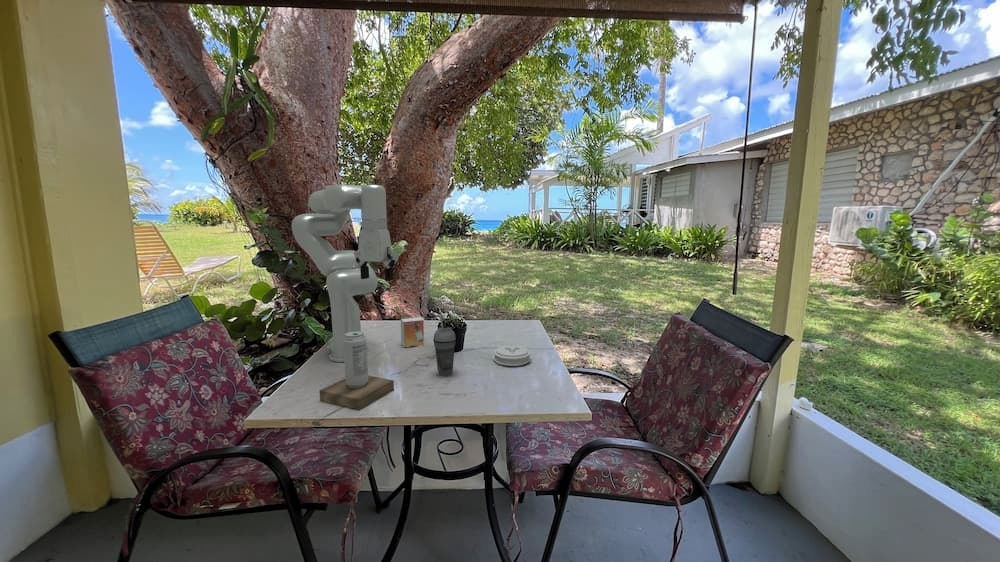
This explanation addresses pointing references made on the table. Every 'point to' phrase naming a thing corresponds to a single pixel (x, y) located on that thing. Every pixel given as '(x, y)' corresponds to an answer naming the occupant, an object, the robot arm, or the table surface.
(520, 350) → the lid
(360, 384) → the energy drink can
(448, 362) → the beverage cup
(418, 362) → the table surface
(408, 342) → the small box
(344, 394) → the walnut base
